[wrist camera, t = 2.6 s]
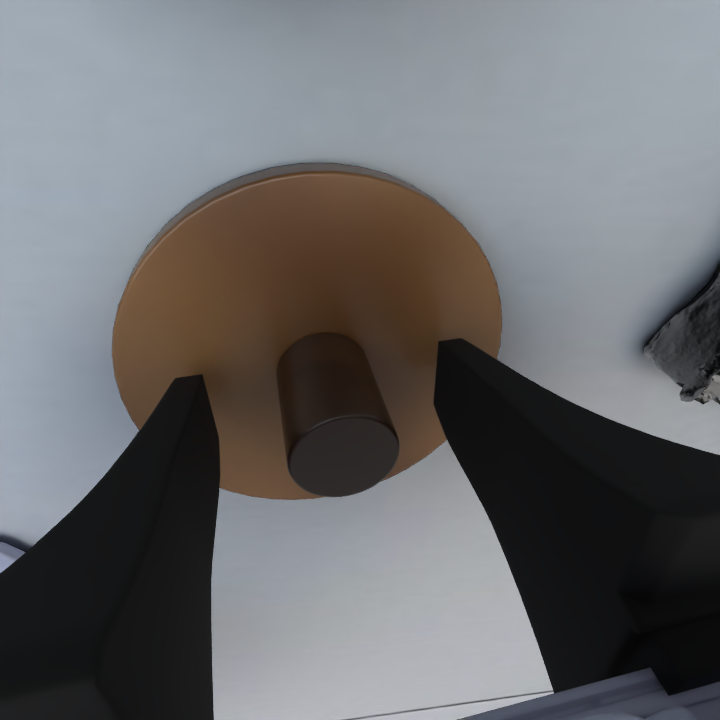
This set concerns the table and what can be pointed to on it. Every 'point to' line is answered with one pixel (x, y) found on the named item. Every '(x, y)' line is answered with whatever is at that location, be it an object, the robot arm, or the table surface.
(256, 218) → the knobbed round lid
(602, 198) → the table surface
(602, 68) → the table surface
